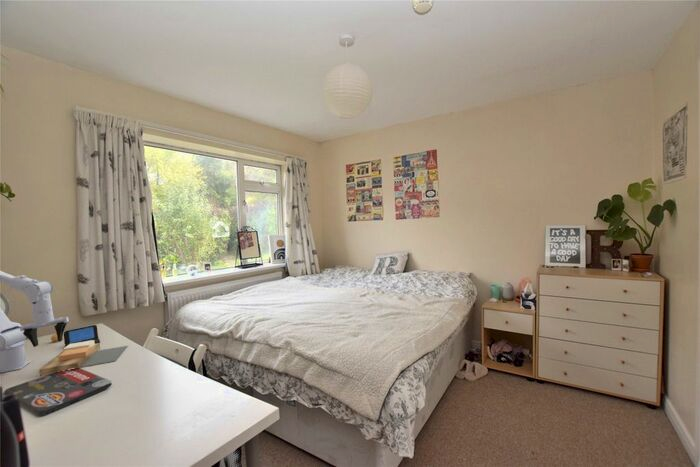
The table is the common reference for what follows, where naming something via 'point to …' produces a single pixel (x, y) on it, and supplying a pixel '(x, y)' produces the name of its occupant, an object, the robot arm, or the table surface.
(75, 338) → the handheld game console
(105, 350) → the mat
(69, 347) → the cream rectangular block
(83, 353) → the orange rectangular block
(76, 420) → the table surface
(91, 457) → the table surface
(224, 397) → the table surface
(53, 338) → the figurine
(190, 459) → the table surface
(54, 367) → the deck
